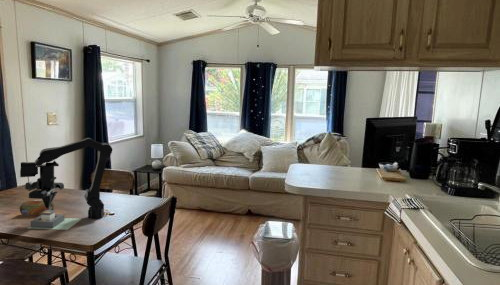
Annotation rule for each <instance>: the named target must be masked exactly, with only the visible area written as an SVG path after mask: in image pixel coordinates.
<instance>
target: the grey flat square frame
mask: <svg viewBox="0 0 500 285" xmlns="http://www.w3.org/2000/svg"><path fill="white" fill-rule="evenodd" d="M64 218H65V214H62V213H60V214H56V213H55V218H54V219H52V220H41V215H38V216H37V217H35V218H34V219H32V220H30V226H31V227H32V228H54V227H56V226H57V225H58V224H60V223H61V222H63V221H64ZM32 228H31V229H32Z"/></svg>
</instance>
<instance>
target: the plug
mask: <svg viewBox="0 0 500 285" xmlns="http://www.w3.org/2000/svg"><path fill="white" fill-rule="evenodd" d="M55 214H56V211H55V209H54V210H46V211H44V212H42V213H41V215H40V216H41V220H52V219H54V218H55Z"/></svg>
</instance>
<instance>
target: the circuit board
mask: <svg viewBox="0 0 500 285" xmlns="http://www.w3.org/2000/svg"><path fill="white" fill-rule="evenodd" d="M81 220H82V218H74V217H73V218H70V217H69V218H68V217H67V218H66V217H64V221H63V222H61V223H60V224H58V225H57V226H56V227H54V228H32V227H31V225H30V226H28V227H27V229H38V230H59V231H60V230H62V231H63V230H65V231H67V230H69V229H70V228H72V227H73V226H74V225H76V224H77V223H78V222H80V221H81Z"/></svg>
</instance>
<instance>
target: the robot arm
mask: <svg viewBox="0 0 500 285" xmlns="http://www.w3.org/2000/svg"><path fill="white" fill-rule="evenodd" d="M88 147H89V148H91V149H93V150H96V151H97V161H96V162H97V163H96V166H95V169H94V173H93V176H92V177H93V178H92V181H91V184H90V185H91V186H90V187H89V189H88V188H86V189H85V193H84V196H83V197H84V199H85V202H86V204H87V205H88V206H89V207H88V210H87V218H88V219H91V220H100V219H103V218H104V216H105V204H104V203H103V201H102V200H101V199H100V197H101V195H100V194H101V193H100V189H101V185H102V181H103V177H104V172H105V168H106V167H107V166H106V165H107V162H108V160H109V159H110V157H111V156H112V153H113V147H112V146H111V145H110V144H108V143H107V142H99V141H96V140H94V139H92V138H90V137H86V138H84V139H81V140H77V141H75V142H71V143H68V144H65V145H61V146H57V147H49V148H43V149H42V150H40V152H39V156H38V157H37V158H36V159H35V160H34V162H33V161H32V162H31V161H28V162H25V161H22V162H20V169H19V173H20V174H19V177H20V178H31V177H36V176H37V175H39V177H38V178H37V180H36V181H34V182H32V181H28V182H26V183H25V184H24V189H25V190H26V191H27V190H28V192H29V193H28V199H34V200H43V202H44V204H45V207H46V208H49V207H50V205H51V203H52V202H53V200H54V199H55V197H56V196H57V194H58V191H55V189H59V190H63V189H65V184H64V183H63V182H55V180H57V176H55V167H59V166H60V164H59V163H58V162H57V161H56V160H57V159H58V158H60V157H62V156H63V155H67V154H70V153H72V152H76V151H79V150H82V149H85V148H88Z"/></svg>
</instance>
